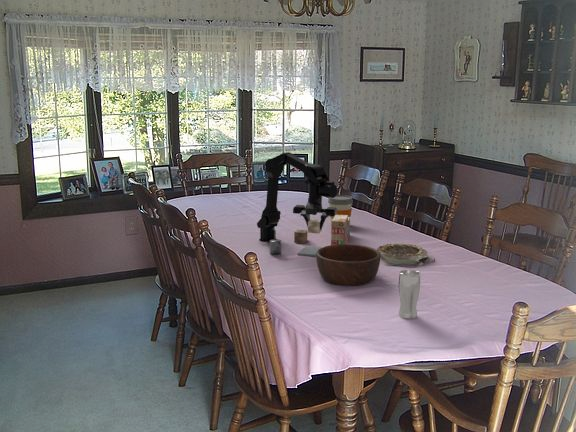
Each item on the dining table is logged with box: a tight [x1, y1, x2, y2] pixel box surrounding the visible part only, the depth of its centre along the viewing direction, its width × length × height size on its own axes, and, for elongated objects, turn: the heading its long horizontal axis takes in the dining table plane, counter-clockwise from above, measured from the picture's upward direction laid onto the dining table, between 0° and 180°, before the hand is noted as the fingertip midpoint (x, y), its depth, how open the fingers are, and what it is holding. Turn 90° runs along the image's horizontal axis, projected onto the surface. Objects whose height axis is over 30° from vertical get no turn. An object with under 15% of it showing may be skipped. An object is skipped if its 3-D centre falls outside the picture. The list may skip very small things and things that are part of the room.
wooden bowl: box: [315, 243, 382, 287], centre depth 244 cm, size 25×25×10 cm
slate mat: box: [297, 245, 322, 258], centre depth 278 cm, size 12×12×1 cm
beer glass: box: [398, 269, 421, 320], centre depth 205 cm, size 7×7×15 cm
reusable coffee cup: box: [327, 194, 353, 225], centre depth 323 cm, size 13×12×15 cm
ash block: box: [307, 218, 323, 235], centre depth 275 cm, size 5×5×5 cm
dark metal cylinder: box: [269, 238, 282, 256], centre depth 275 cm, size 5×5×6 cm
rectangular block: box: [293, 229, 308, 244], centre depth 295 cm, size 5×5×5 cm
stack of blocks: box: [330, 215, 351, 245], centre depth 296 cm, size 21×6×12 cm, turn 168°
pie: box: [376, 243, 436, 268], centre depth 270 cm, size 28×27×5 cm
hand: (314, 229), depth 275 cm, fingers closed on ash block, 5 cm apart
